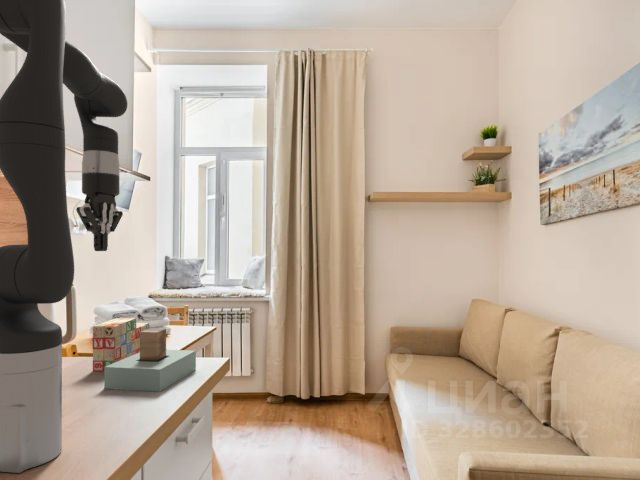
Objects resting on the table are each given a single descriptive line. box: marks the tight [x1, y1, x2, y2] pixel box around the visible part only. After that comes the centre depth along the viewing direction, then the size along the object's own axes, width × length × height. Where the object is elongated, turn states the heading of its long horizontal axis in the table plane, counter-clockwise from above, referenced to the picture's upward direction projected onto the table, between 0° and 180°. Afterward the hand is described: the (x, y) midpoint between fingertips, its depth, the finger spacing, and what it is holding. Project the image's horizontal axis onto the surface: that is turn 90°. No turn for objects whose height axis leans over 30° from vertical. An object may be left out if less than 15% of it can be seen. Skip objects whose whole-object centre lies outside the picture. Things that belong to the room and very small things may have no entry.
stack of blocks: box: [92, 317, 150, 372], centre depth 126 cm, size 21×6×12 cm, turn 178°
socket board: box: [103, 349, 197, 392], centre depth 109 cm, size 18×14×5 cm
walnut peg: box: [139, 328, 167, 362], centre depth 109 cm, size 5×5×12 cm
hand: (100, 250), depth 97 cm, fingers closed
